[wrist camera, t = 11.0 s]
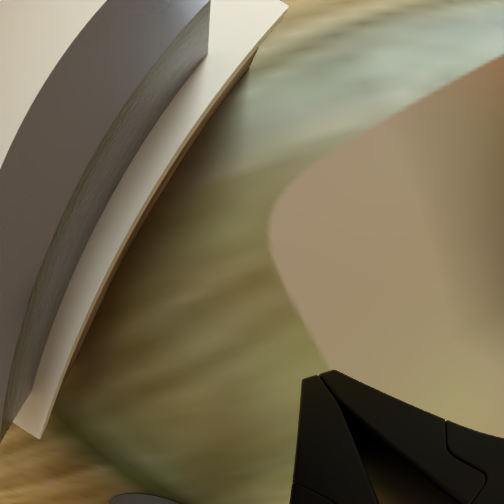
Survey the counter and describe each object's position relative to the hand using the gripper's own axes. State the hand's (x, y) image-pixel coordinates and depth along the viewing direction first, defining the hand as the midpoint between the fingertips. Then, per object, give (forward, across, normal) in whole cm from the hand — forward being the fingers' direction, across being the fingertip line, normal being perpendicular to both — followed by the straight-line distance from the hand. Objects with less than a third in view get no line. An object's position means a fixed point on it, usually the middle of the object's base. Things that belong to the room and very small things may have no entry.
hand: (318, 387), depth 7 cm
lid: (+1, +10, -10) cm, 14 cm away
